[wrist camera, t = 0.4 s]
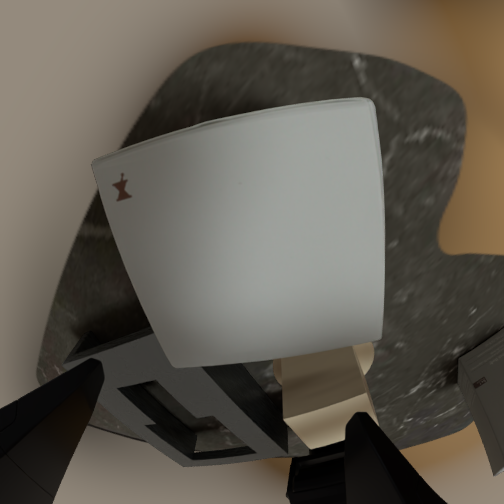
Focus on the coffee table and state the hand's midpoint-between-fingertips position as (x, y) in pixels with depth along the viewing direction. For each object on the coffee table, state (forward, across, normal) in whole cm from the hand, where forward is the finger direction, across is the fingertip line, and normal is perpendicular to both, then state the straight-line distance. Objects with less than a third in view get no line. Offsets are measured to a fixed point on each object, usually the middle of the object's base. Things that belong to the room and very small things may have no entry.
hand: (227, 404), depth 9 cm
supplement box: (+13, +1, -5) cm, 14 cm away
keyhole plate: (+14, +4, +17) cm, 22 cm away
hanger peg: (+14, -6, +5) cm, 16 cm away
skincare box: (+14, -31, +8) cm, 35 cm away
